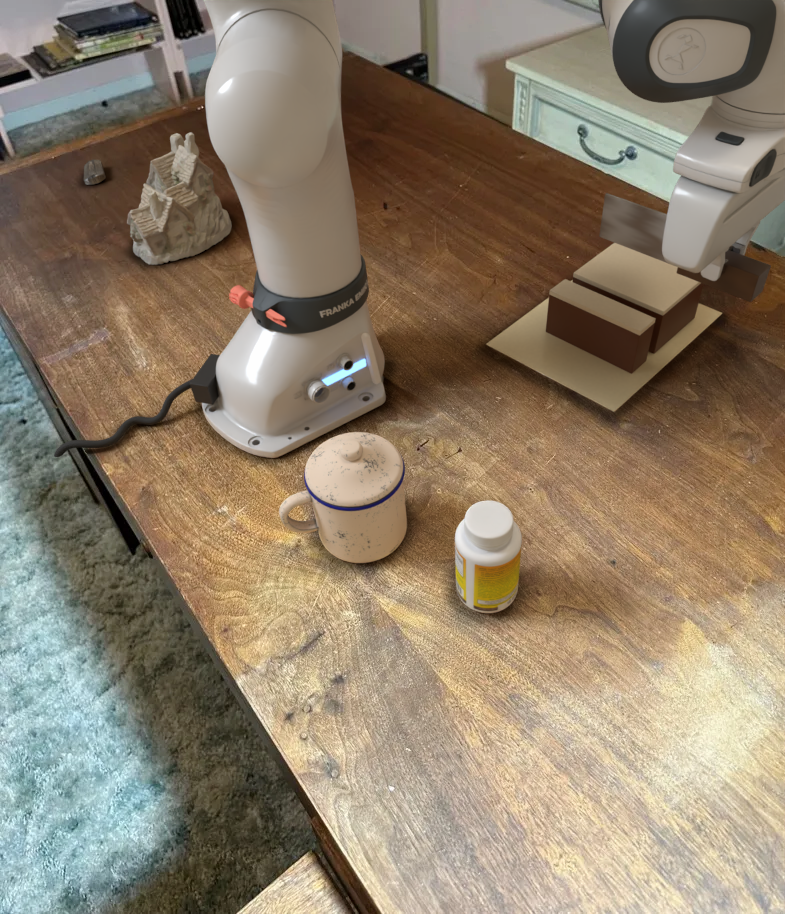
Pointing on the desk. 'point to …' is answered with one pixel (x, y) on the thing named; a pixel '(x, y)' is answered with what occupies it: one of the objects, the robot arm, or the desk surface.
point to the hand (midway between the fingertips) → (721, 267)
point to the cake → (643, 288)
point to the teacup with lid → (353, 497)
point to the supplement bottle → (487, 557)
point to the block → (93, 172)
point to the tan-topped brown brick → (599, 325)
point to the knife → (646, 236)
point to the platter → (589, 357)
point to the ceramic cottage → (177, 207)
